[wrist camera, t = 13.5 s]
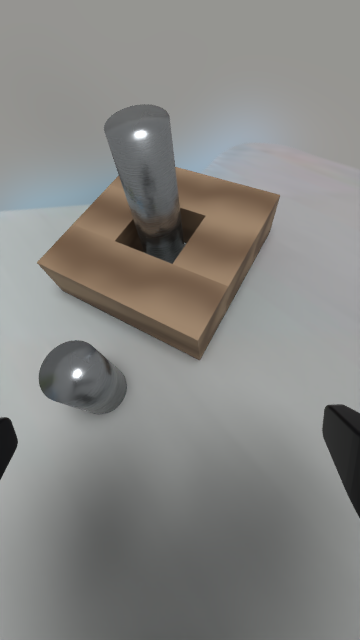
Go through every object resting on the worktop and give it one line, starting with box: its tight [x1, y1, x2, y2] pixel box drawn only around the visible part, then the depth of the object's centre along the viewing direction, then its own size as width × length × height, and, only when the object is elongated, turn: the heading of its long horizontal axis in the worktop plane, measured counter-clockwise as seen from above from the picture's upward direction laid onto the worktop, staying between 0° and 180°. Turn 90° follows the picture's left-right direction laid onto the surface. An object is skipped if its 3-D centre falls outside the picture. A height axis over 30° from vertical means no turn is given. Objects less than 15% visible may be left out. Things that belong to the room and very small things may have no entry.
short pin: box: [39, 340, 127, 414], centre depth 19 cm, size 4×4×6 cm
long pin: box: [104, 105, 185, 264], centre depth 21 cm, size 4×4×13 cm
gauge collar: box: [37, 167, 280, 360], centre depth 25 cm, size 16×16×4 cm
